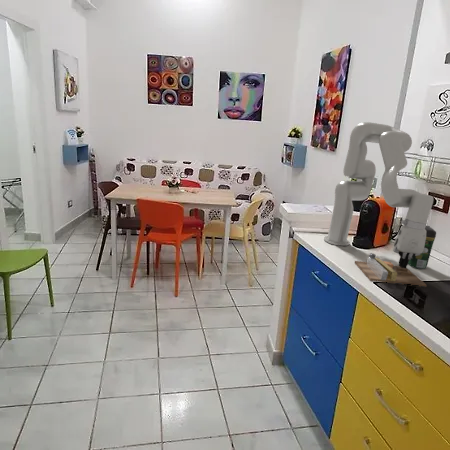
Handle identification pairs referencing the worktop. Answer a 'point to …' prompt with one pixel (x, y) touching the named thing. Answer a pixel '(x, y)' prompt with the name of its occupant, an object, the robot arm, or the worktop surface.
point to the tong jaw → (391, 272)
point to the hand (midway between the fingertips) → (402, 266)
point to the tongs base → (376, 267)
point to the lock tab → (389, 264)
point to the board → (402, 277)
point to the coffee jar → (424, 250)
